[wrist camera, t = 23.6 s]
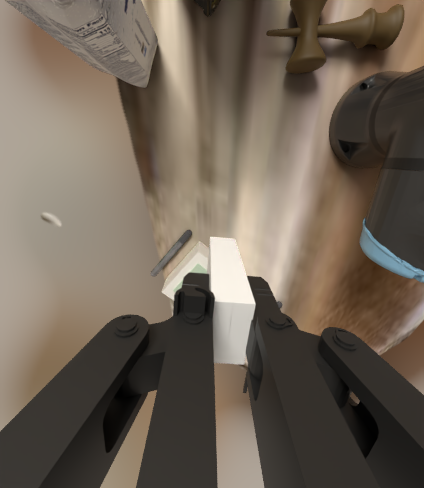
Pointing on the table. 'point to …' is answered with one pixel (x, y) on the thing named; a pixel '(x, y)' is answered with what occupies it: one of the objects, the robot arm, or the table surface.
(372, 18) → the kendama
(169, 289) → the breaker housing
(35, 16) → the juice carton
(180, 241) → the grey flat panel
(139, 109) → the table surface
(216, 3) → the voltmeter
